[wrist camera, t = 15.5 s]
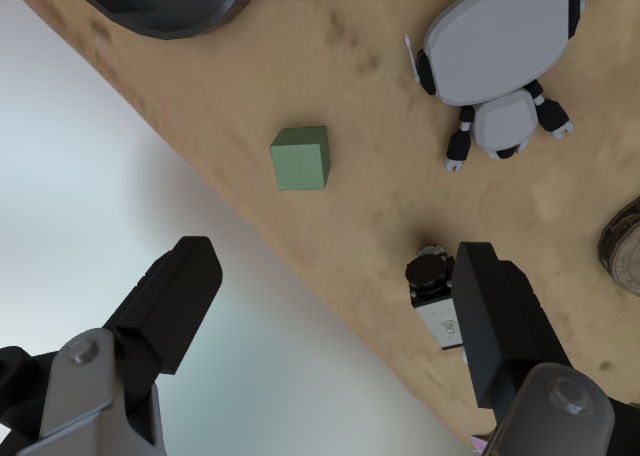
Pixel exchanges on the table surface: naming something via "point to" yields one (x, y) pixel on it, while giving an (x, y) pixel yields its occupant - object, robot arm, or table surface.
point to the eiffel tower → (634, 405)
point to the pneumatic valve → (434, 294)
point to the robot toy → (496, 70)
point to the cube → (301, 158)
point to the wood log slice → (623, 248)
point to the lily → (478, 444)
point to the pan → (170, 15)
